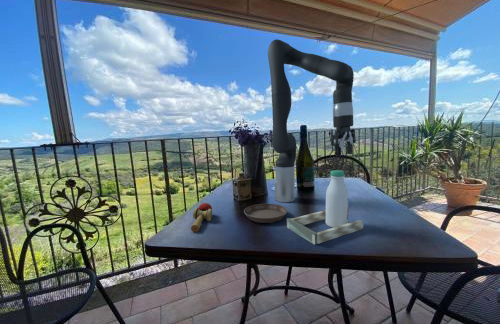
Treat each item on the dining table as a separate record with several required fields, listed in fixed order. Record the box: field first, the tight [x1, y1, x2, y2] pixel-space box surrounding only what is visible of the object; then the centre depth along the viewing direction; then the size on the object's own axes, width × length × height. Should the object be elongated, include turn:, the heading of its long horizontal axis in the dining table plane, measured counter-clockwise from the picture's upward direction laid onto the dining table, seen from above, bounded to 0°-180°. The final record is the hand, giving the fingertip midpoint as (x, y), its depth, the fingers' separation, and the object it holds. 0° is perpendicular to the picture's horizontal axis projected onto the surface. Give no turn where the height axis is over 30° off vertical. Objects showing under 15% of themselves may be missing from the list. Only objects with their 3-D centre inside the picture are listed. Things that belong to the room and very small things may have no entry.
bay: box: [286, 209, 364, 246], centre depth 80 cm, size 22×14×4 cm, turn 117°
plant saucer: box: [243, 203, 288, 224], centre depth 94 cm, size 18×18×3 cm
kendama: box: [190, 202, 213, 233], centre depth 90 cm, size 8×6×18 cm
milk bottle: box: [325, 169, 349, 228], centre depth 82 cm, size 8×8×20 cm
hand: (344, 155), depth 93 cm, fingers open, 8 cm apart
